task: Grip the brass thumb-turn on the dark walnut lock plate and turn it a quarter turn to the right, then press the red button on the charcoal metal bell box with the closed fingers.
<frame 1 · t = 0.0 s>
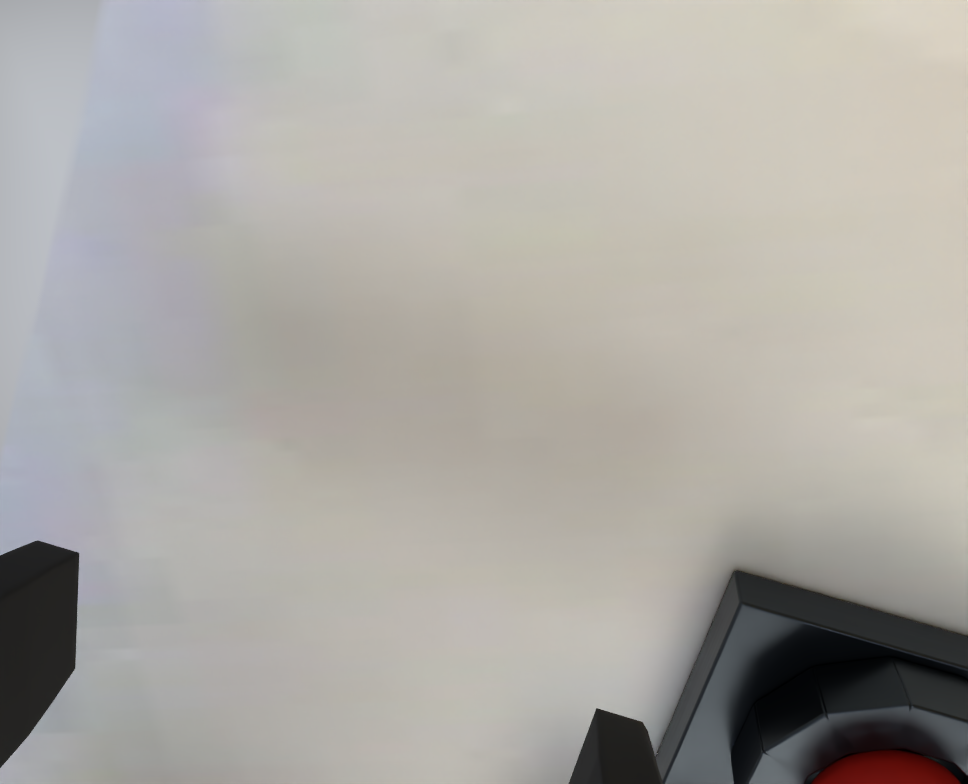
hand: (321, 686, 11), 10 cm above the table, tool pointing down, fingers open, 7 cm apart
bell box: (858, 725, 22), on the table
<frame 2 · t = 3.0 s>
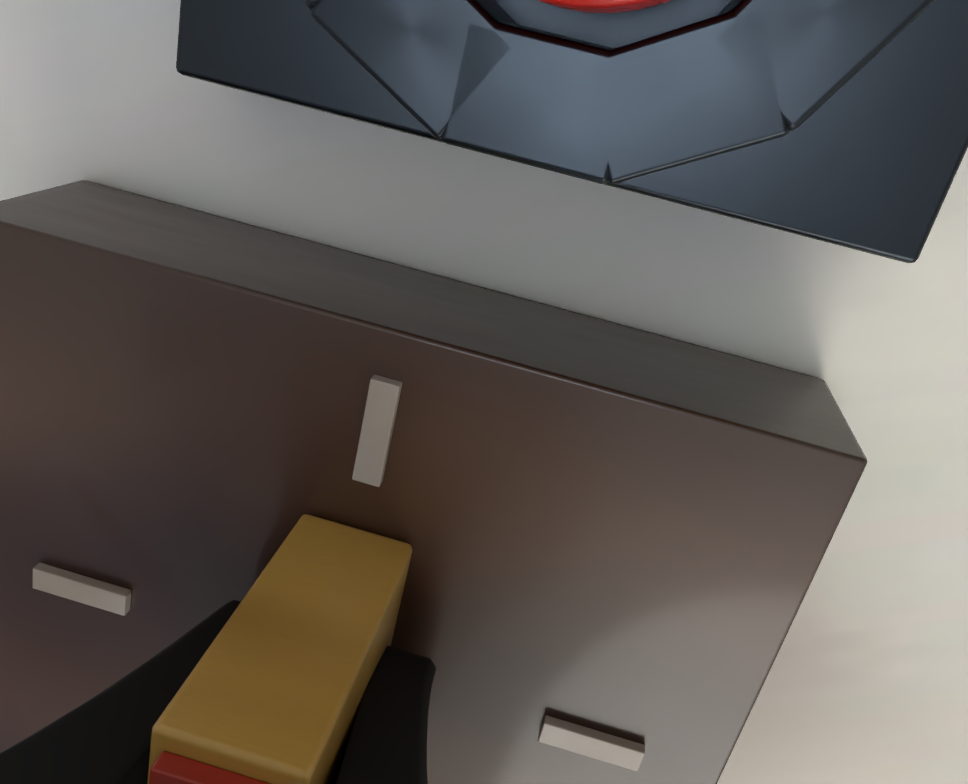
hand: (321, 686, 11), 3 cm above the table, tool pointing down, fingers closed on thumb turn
thumb turn: (275, 777, 10), point 5 cm above the table, hinge at 0.0°, touching gripper
lock plate: (382, 560, 14), on the table
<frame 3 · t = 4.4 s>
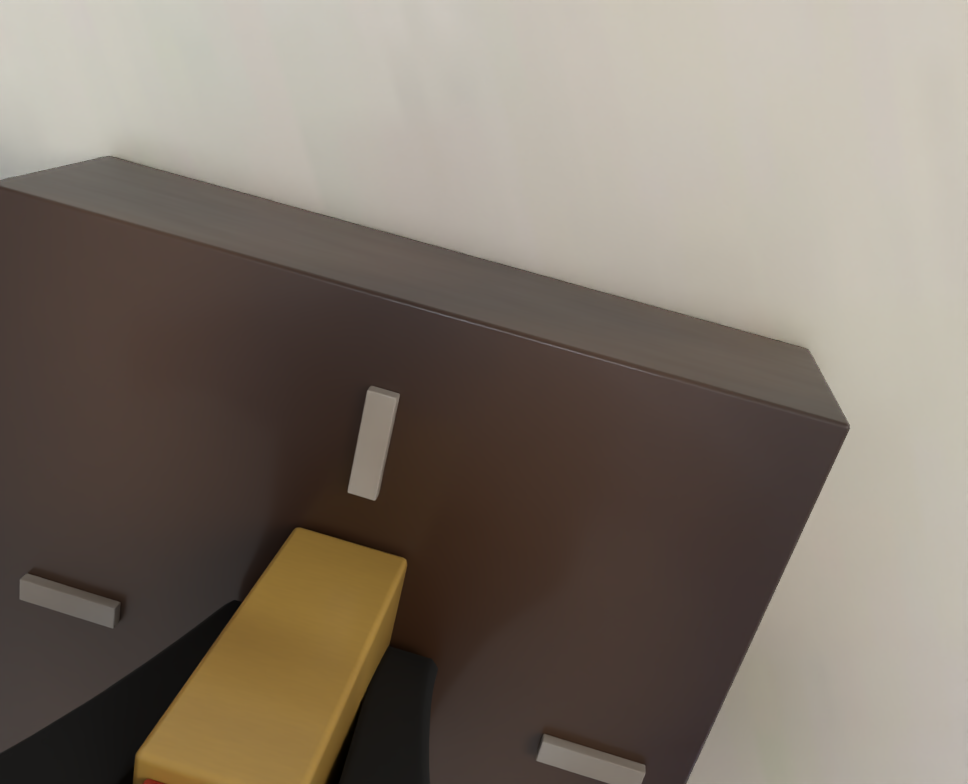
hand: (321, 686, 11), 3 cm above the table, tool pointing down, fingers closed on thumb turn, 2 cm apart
lock plate: (378, 571, 14), on the table
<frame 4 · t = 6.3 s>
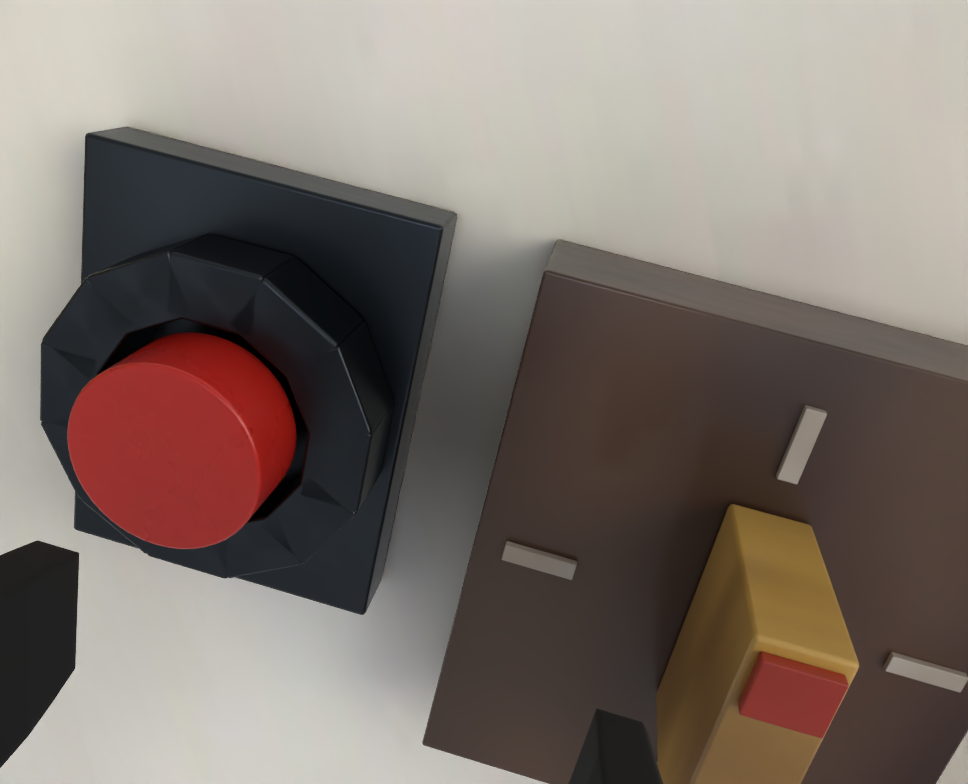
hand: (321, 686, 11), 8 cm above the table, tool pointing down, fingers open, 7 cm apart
bell button: (186, 439, 16), point 4 cm above the table, slide at 0.1 cm
bell box: (263, 372, 19), on the table
thumb turn: (740, 687, 14), point 5 cm above the table, hinge at -89.5°
lock plate: (718, 542, 19), on the table
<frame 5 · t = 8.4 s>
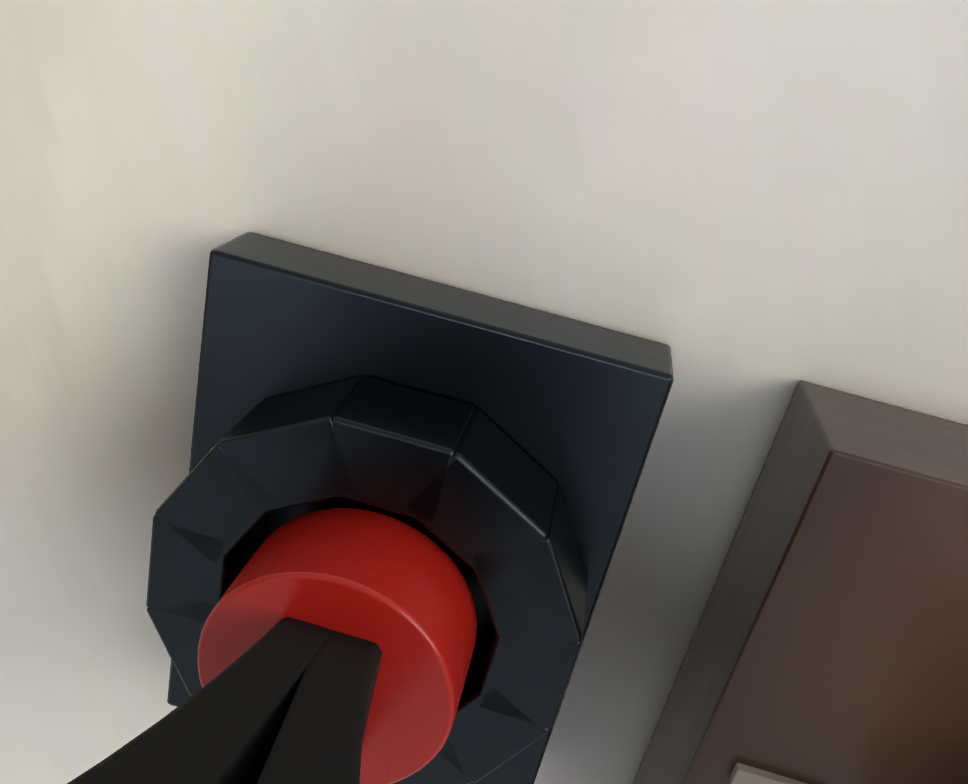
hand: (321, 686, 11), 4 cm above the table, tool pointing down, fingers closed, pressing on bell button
bell button: (343, 646, 12), point 3 cm above the table, slide at 0.1 cm, touching gripper
bell box: (404, 521, 15), on the table
lock plate: (963, 733, 15), on the table
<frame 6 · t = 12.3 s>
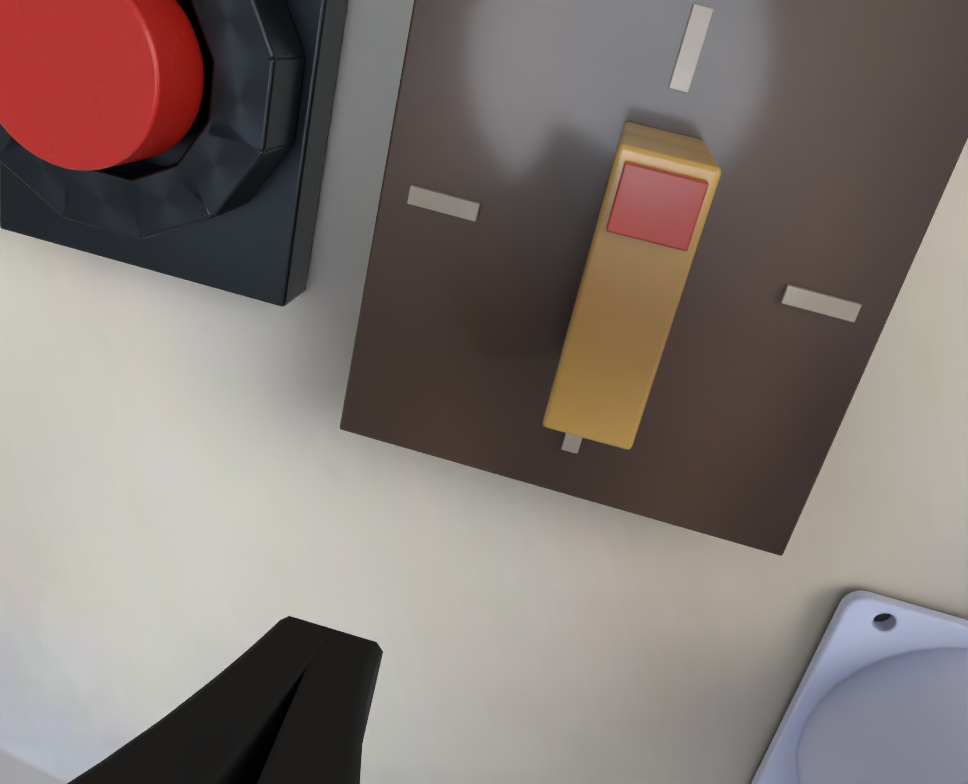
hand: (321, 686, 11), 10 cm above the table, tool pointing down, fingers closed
bell button: (92, 65, 16), point 4 cm above the table, slide at 0.1 cm
bell box: (184, 61, 19), on the table
thumb turn: (627, 278, 15), point 5 cm above the table, hinge at -89.5°
lock plate: (631, 225, 19), on the table
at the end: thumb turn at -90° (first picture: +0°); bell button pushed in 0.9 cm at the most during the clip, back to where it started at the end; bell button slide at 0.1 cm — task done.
